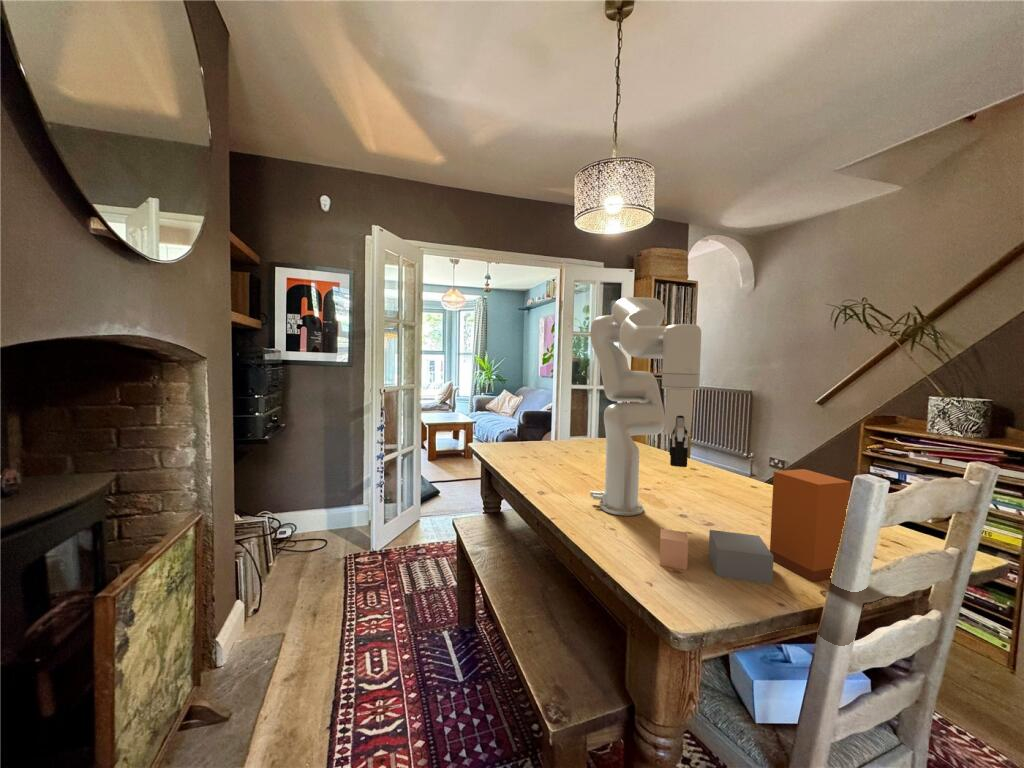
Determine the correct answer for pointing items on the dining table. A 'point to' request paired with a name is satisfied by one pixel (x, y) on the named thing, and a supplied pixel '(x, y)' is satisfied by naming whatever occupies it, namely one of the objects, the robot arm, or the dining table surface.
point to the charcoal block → (740, 556)
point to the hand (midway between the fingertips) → (677, 460)
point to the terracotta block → (674, 549)
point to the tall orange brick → (807, 521)
